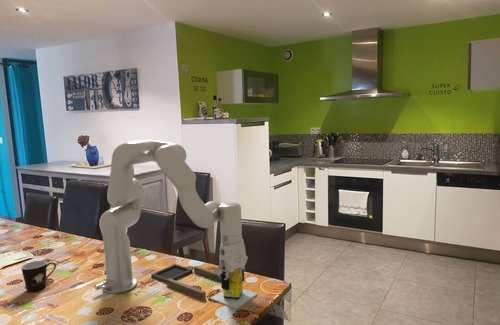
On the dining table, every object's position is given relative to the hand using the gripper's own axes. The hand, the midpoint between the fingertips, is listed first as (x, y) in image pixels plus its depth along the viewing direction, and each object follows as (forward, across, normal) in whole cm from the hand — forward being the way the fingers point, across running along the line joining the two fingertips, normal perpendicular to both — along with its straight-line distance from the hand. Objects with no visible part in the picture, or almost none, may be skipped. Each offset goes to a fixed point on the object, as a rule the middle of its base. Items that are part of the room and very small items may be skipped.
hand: (233, 284), depth 129 cm
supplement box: (+4, 0, 0) cm, 4 cm away
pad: (+5, 0, 0) cm, 5 cm away
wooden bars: (+5, 0, +18) cm, 18 cm away
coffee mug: (+5, -38, +69) cm, 79 cm away
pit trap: (+5, 0, +34) cm, 35 cm away
